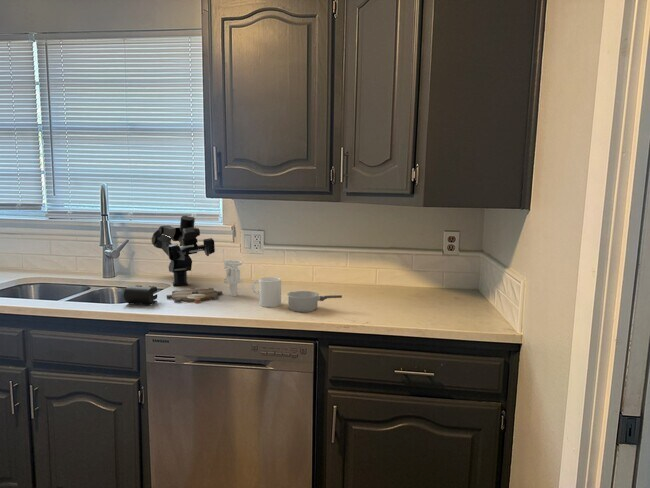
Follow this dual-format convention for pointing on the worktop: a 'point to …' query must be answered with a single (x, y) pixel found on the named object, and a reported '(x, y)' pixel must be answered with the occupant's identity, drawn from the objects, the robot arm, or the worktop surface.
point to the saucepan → (306, 300)
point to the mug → (269, 291)
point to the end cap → (140, 295)
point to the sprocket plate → (194, 295)
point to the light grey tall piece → (232, 275)
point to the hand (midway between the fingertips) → (196, 256)
